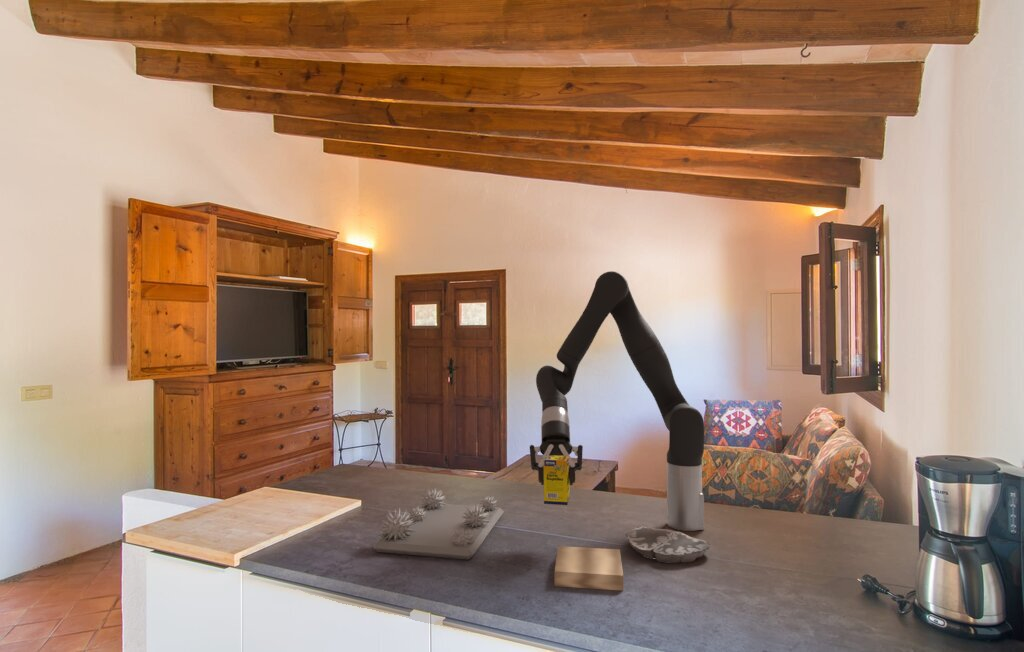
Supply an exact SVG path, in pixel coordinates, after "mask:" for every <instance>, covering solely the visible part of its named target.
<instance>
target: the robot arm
mask: <svg viewBox="0 0 1024 652" xmlns="http://www.w3.org/2000/svg"><path fill="white" fill-rule="evenodd" d="M609 315H611V316H612V318H613V320H614V321H615V323H616V326H617V329H618V331H619V335H620V337H621V341H622V343H623V345H624V347H625V349H626V351H627V355H628V356H629V358H630V360H631V362H632V364H633V366H634V367H635V369H636V371H637V373H638V375H639V376H640V377H641V379H642V381H643V382H644V384H645V385H646V387H647V389H648V390H649V391H650V393H651V394H652V396H653V398H654V400H655V403H656V405H657V407H658V409H659V412H660V415H661V417H662V420H663V422H664V423H663V424H664V425H665V427H666V429H667V430H668V431H669V435H668V436H669V442H668V443H669V444H668V450H667V452H666V508H667V509H666V513H667V514H666V518H667V519H666V520H667V521H666V523H667V526H668V527H670V528H672V529H674V530H678V531H684V532H696V531H700V530H701V531H704V530H705V495H704V492H703V475H702V474H703V470H702V469H703V465H702V464H703V455H704V452H705V423H704V418H703V415H702V414H701V412H700V411H699V410H698V409H696V408H695V407H694V406H691V405H690V404H689V403H688V401H687V400H686V398H685V397H684V395H683V394H682V392H681V390H680V389H679V387H678V385H677V383H676V380H675V377H674V374H673V369H672V367H671V363H670V360H669V358H668V355H667V353H666V351H665V349H664V347H663V346H662V344H661V342H660V340H659V339H658V337H657V335H656V334H655V332H654V330H653V329H652V327H651V326H650V325H649V323H648V322H647V320H646V319H645V318H644V317H643V315H642V314H641V312H640V310H639V308H638V306H637V304H636V302H635V299H634V297H633V295H632V293H631V289H630V286H629V284H628V281H627V279H626V277H625V276H624V275H623V274H621V273H620V272H618V271H611V270H610V271H607V272H603V273H602V274H600V276H598V278H597V279H596V281H595V284H594V288H593V290H592V293H591V295H590V297H589V301H588V302H587V304H586V306H585V308H584V310H583V312H582V313H581V315H580V317H579V319H578V320H577V322H576V323H575V324H574V326H573V327H572V329H571V331H570V332H569V333H568V334H567V336H566V338H565V340H564V341H563V343H562V344H561V346H560V347H559V349H558V351H557V353H556V359H557V360H558V361H559V362H560V363H561V364H562V365H564V368H563V371H562V370H559V369H558V368H556V367H554V366H551V365H544V366H542V367H540V368H539V370H538V371H537V373H536V378H535V383H536V388H537V392H538V395H539V398H540V401H541V402H542V404H541V405H542V406H541V408H542V409H541V424H540V425H541V426H540V428H541V429H540V430H541V443H540V445H539V446H535V445H533V444H531V445H529V457H530V465H531V467H530V468H531V470H532V471H537V473H538V474H537V475H538V478H537V479H538V480H537V481H538V483H539V484H540V485H541V486H544V465H543V460H544V459H545V458H546V457H547V456H549V455H563V456H569V480H570V486H573V484H575V483H576V471H581V470H582V468H583V466H582V465H583V451H584V450H583V449H584V447H583V445H582V444H579V445H578V446H574V445H572V444H571V432H570V419H569V414H568V413H569V411H568V399H567V397H566V395H568V393H569V392H571V389H572V387H573V384H574V380H575V377H576V374H577V370H578V367H579V366H580V363H581V362H582V360H583V359H584V357H585V356H586V353H587V352H588V351H589V349H590V347H591V346H592V343H593V341H594V340H595V338H596V336H597V334H598V332H599V330H600V328H601V327H602V325H603V323H604V321H605V320H606V318H607V317H608V316H609ZM539 452H540V453H541V454H542V456H541V460H540V461H539V462H537V460H536V456H537V455H538V454H539ZM572 452H573V453H574V455H575V456H577V457H576V458H577V459H576V462H574V461H573V459H572V458H571V456H570V455H571V454H572Z"/></svg>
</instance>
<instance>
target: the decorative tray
mask: <svg viewBox="0 0 1024 652" xmlns="http://www.w3.org/2000/svg"><path fill="white" fill-rule="evenodd" d="M436 489H437V488H436V487H435V488H432V490H431V491H430V490H426V491H425V490H424V493H425V495H422V499H421V501H422V504H421V505H418V506H416V507H415V508H414V507H412V508H410V510H411V512H410V511H408V510H406V511H405V512H404V513H403V512H401V508H399V509H397V508H395V510H394V515H393V514H392V513H391V511H390V510H388V512H387V513H384V515H385V519H386V520H383V519H380V518H379V519H378V520H379V521H380V524H377V526H378V527H381V528H382V529H380V531H379V532H377V534H379V535H378V537H380V539H379V540H377V541H376V542H375V543H374V544H373V545H372V548H373V549H374V550H375V551H376V552H377V553H388V554H398V555H411V556H421V557H423V556H424V557H433V558H434V557H435V558H446V559H457V560H469V559H471V558H472V557H473V556H474V555H475V553H476V552H477V551H478V549H479V548H480V547H481V546H482V544H483V543H484V541H485V539H486V538H487V537H488V536H489V534H490V533H491V531H492V530H493V528H494V527H495V526H496V525H497V523H498V521H499V520H500V518H501V517H502V516H503V514H505V511H504V510H503V509H502V508H501V507H500V506H498V505H496V504H497V503H498V502H497V501H498V500H497V499H496V500H495V496H491V497H490V495H487V496H486V497H482V499H483V500H481V502H480V503H476V505H470V504H469V505H468V504H467V505H466V504H452V503H445V502H444V501H445V500H448V498H446V496H445V495H443V491H441V490H438V489H437V490H436ZM479 504H480V505H479ZM407 511H408V513H407ZM387 514H388V515H387Z"/></svg>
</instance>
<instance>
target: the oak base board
mask: <svg viewBox="0 0 1024 652" xmlns="http://www.w3.org/2000/svg"><path fill="white" fill-rule="evenodd" d="M556 554H557V555H556V559H555V566H554V587H565V588H567V587H568V588H576V589H577V588H578V589H579V588H580V589H595V590H609V591H622V592H623V591H624V571H623V564H622V556H621V550H620V549H616V548H599V547H598V548H596V547H579V546H563V545H558V548H557V553H556Z"/></svg>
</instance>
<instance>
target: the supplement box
mask: <svg viewBox="0 0 1024 652" xmlns="http://www.w3.org/2000/svg"><path fill="white" fill-rule="evenodd" d="M543 465H544V485H543V504H544V505H556V506H557V505H558V506H559V505H560V506H568V505H569V504H568V503H569V501H570V495H571V494H570V493H571V489H570V488H571V487H570V486H571V485H570V480H569V456H563V455H549V456H547V457H546V458H545V459H544V460H543Z"/></svg>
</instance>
